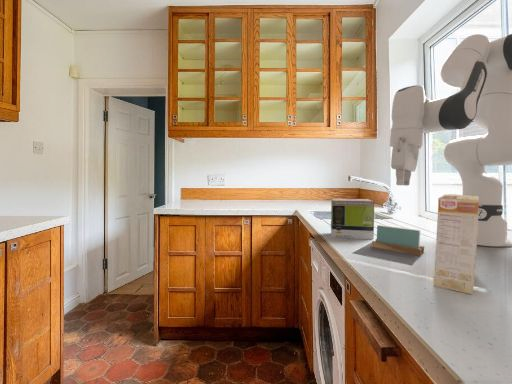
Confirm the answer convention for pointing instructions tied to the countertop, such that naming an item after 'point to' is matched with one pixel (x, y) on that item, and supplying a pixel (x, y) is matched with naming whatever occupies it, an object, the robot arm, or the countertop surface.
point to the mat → (387, 254)
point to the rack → (398, 248)
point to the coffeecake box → (456, 242)
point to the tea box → (352, 218)
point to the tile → (398, 236)
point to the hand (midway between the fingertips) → (403, 185)
